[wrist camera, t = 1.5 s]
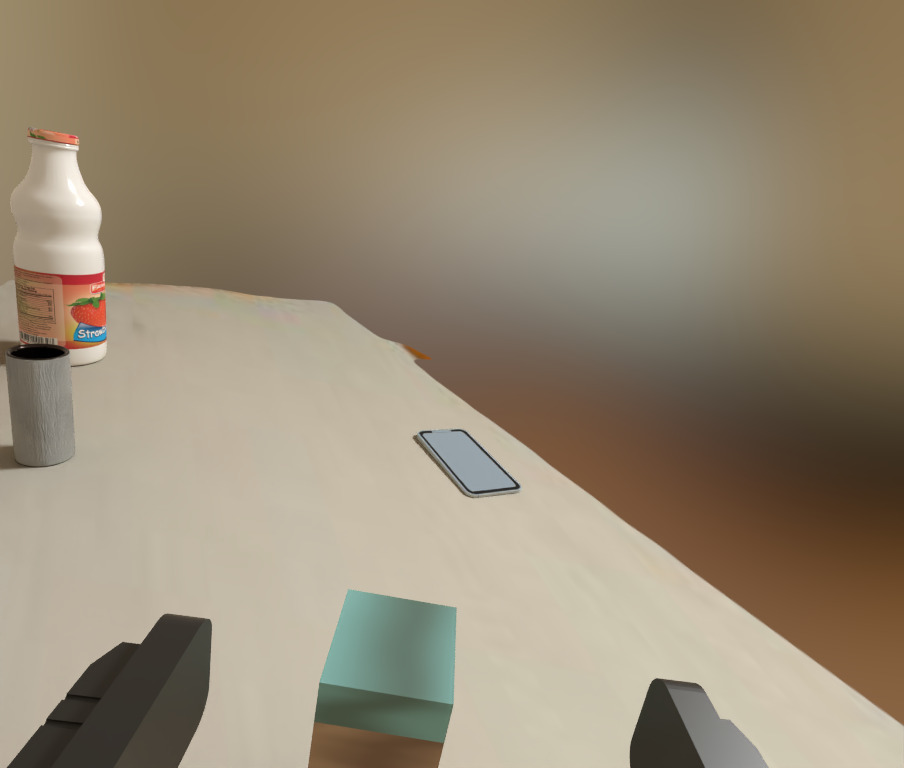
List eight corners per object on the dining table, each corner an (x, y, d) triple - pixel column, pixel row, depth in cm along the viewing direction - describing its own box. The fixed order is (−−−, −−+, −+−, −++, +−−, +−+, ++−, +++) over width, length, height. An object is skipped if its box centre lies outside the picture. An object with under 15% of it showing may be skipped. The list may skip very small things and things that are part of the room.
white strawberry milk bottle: (33, 343, 75) (16, 124, 66) (112, 347, 79) (107, 141, 70) (10, 366, 67) (-12, 120, 58) (100, 369, 71) (92, 139, 62)
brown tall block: (292, 887, 24) (319, 682, 20) (321, 772, 28) (348, 589, 25) (404, 904, 24) (453, 704, 20) (414, 787, 29) (456, 607, 25)
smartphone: (469, 496, 57) (414, 430, 69) (467, 504, 57) (413, 437, 70) (525, 489, 61) (464, 428, 73) (524, 496, 61) (463, 434, 73)
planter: (70, 440, 54) (65, 342, 50) (79, 461, 51) (74, 357, 47) (12, 448, 51) (2, 344, 47) (17, 471, 48) (7, 361, 44)
